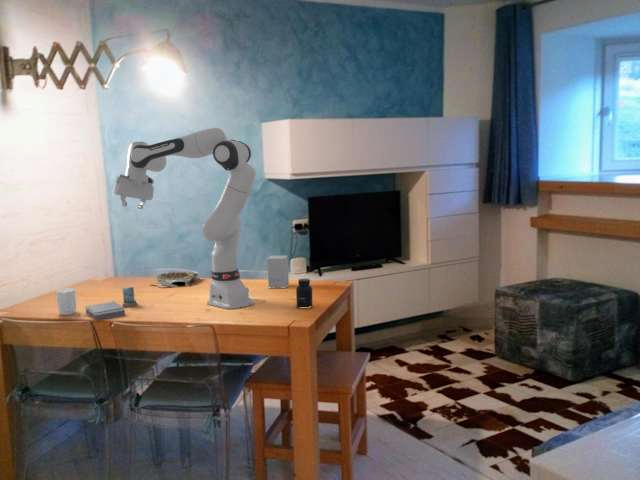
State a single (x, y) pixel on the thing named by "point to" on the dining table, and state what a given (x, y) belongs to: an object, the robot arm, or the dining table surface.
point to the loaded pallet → (128, 297)
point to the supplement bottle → (304, 293)
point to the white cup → (66, 301)
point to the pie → (175, 278)
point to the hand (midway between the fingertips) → (132, 207)
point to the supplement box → (277, 271)
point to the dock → (105, 310)
